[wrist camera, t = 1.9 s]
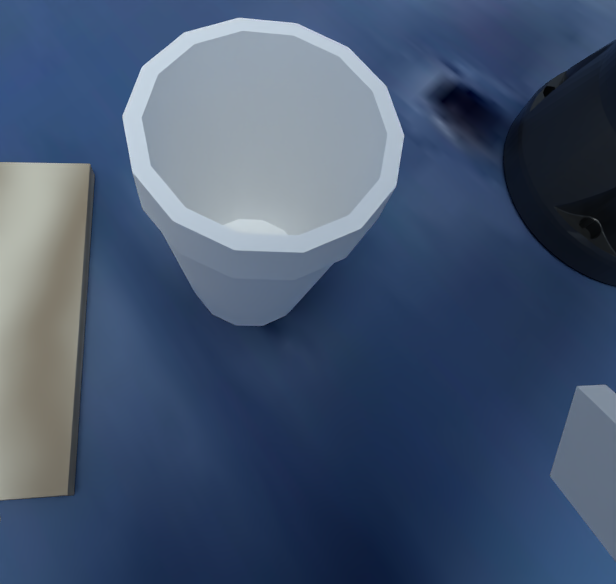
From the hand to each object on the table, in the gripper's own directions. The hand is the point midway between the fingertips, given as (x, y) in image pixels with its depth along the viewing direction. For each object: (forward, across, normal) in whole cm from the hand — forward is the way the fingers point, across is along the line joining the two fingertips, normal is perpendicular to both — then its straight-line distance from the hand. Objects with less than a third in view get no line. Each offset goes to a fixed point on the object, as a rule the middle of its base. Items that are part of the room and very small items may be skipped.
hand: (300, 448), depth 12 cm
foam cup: (+19, 0, -4) cm, 19 cm away
